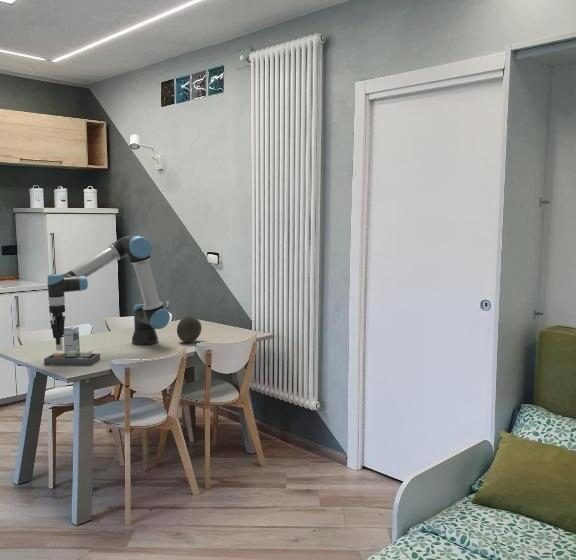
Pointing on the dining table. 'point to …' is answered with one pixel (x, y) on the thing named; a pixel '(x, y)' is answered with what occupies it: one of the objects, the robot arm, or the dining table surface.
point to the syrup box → (71, 339)
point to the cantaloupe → (189, 329)
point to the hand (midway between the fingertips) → (59, 350)
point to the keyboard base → (72, 360)
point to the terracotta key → (58, 355)
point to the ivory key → (85, 353)
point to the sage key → (72, 353)
